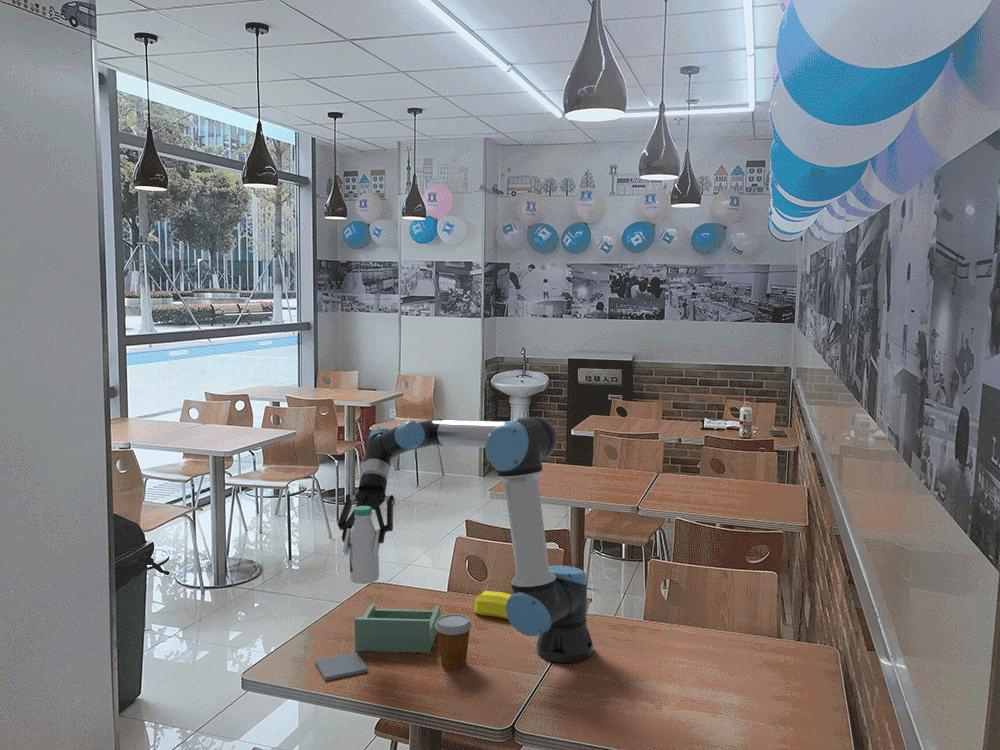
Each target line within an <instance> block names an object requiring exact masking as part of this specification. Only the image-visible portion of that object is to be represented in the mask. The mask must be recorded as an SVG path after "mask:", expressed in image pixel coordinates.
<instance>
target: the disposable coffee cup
mask: <svg viewBox="0 0 1000 750" xmlns="http://www.w3.org/2000/svg"><path fill="white" fill-rule="evenodd" d="M435 628H436V630H437V640H438V647H439V648H438V649H439V655H440V660H441V661H440V662H441V666H442V668H444V667H445V668H444V669H446V668H447V670H452V669H454V670H459V669H463V668H465V666H466V664H467V656H468V650H469V649H468V647H469V638H470V631H471V628H472V622H471V619H470V617H469V616H467V615H465V614H459V613H447V614H444V615H441V617H439V618H438V619H437V622H436V624H435ZM462 667H463V668H462Z"/></svg>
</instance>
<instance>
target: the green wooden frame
mask: <svg viewBox="0 0 1000 750" xmlns="http://www.w3.org/2000/svg"><path fill="white" fill-rule="evenodd" d="M441 616H442V612H441V605H437V604H436V605H434V609H399V608H398V609H395V608H376V603H370V605H369V606H368V608H367V610H366V611H365V613H364V615H362V617H355V618H354V645H355V647H354V649H355V650H354V651H355V652H364V651H375V653H399V652H412V653H411V654H417V653H416V652H420V653H419V654H431V651H432V649H431V648H433V646H434V644H435V641H436V638H437V636H438V633H437V630H436V628H435V624H436V622H437V619H438V618H439V617H441ZM435 637H436V638H435ZM434 640H435V641H434ZM432 645H433V646H432ZM413 652H414V653H413ZM421 652H422V653H421Z"/></svg>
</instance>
